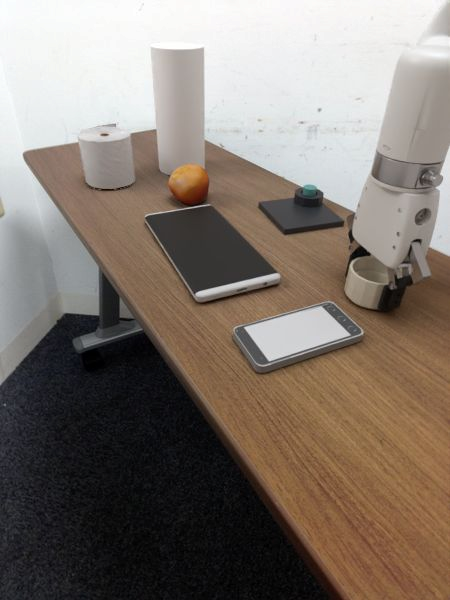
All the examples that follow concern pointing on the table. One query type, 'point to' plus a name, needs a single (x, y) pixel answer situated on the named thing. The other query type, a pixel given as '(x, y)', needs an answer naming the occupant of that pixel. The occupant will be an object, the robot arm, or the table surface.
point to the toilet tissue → (107, 156)
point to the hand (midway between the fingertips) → (370, 291)
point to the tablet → (210, 253)
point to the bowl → (367, 281)
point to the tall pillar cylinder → (179, 104)
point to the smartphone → (296, 336)
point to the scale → (300, 213)
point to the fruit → (189, 184)
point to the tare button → (309, 190)
